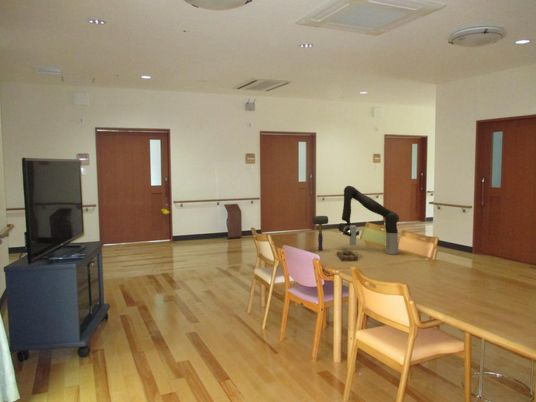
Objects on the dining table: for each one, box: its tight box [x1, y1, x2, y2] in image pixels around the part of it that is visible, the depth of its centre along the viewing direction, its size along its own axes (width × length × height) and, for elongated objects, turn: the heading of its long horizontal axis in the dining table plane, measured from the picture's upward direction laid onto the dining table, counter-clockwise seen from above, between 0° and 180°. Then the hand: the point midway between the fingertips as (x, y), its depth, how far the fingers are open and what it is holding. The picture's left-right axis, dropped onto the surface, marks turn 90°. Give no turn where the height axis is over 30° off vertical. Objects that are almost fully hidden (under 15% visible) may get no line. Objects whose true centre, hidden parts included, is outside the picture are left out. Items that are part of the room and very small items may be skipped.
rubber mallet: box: [312, 215, 329, 252], centre depth 356 cm, size 12×8×30 cm, turn 101°
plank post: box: [349, 224, 357, 246], centre depth 328 cm, size 4×5×15 cm
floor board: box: [336, 251, 359, 262], centre depth 329 cm, size 12×20×3 cm, turn 2°
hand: (353, 234), depth 326 cm, fingers closed on plank post, 4 cm apart
